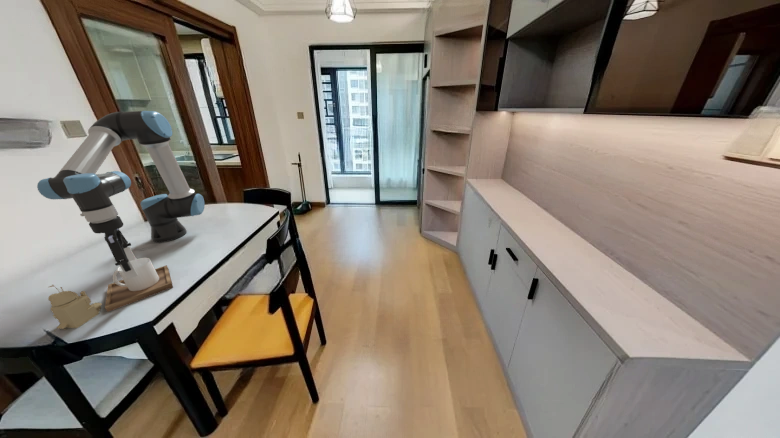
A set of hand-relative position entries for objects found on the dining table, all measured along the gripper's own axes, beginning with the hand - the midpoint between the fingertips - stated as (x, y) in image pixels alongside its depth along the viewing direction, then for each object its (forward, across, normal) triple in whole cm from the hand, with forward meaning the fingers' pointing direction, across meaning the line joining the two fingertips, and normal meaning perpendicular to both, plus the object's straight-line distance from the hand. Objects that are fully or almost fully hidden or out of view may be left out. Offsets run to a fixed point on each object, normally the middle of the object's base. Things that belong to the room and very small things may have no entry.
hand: (132, 269), depth 95 cm
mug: (+8, 0, 0) cm, 8 cm away
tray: (+8, +1, 0) cm, 9 cm away
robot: (+8, +7, -16) cm, 19 cm away
